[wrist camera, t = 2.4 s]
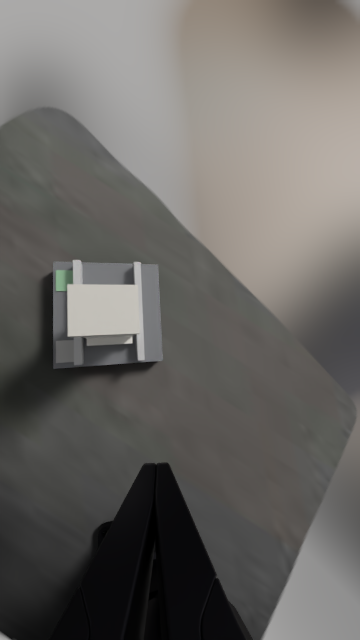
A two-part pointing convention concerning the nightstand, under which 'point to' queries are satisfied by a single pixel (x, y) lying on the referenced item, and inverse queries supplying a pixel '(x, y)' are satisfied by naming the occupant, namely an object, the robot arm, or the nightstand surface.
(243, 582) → the nightstand surface
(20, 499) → the nightstand surface
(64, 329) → the breaker panel
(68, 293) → the handle
